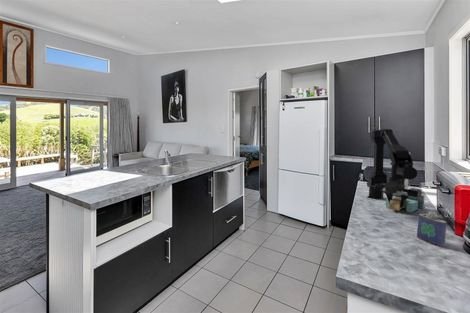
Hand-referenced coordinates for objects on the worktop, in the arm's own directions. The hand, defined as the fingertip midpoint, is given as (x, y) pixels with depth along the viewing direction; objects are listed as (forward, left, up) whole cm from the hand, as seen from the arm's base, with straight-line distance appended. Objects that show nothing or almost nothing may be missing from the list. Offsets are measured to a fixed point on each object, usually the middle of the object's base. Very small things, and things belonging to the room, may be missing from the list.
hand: (395, 206), depth 119 cm
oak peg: (0, +2, -1) cm, 3 cm away
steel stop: (0, +13, -2) cm, 13 cm away
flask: (+21, -26, -3) cm, 33 cm away
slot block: (0, +7, -2) cm, 7 cm away
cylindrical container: (-15, +46, -3) cm, 49 cm away
